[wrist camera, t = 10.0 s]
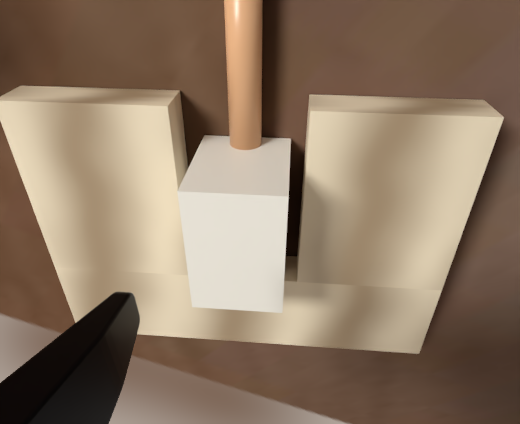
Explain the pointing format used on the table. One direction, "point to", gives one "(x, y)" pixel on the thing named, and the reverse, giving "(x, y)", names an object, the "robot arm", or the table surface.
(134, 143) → the notched board
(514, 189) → the table surface
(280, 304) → the white mallet
